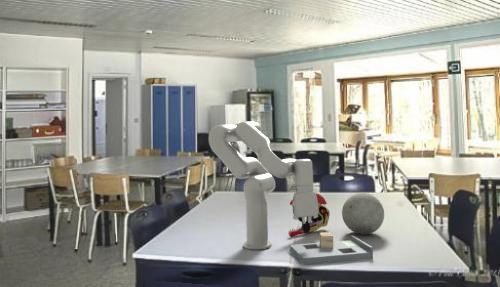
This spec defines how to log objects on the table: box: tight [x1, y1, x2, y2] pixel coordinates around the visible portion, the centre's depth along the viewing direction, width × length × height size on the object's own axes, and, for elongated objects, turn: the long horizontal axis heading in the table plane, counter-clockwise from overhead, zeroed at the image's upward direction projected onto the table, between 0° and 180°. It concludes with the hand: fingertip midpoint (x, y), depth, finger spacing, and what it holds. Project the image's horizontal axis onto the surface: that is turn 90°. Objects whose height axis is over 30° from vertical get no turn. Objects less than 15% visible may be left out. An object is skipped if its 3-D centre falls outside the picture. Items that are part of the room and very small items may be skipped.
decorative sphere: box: [341, 192, 385, 235], centre depth 202 cm, size 20×20×20 cm
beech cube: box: [319, 232, 334, 248], centre depth 176 cm, size 5×5×5 cm
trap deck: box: [289, 235, 374, 265], centre depth 172 cm, size 18×29×4 cm, turn 101°
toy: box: [288, 192, 331, 238], centre depth 206 cm, size 7×27×20 cm, turn 126°
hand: (306, 232), depth 174 cm, fingers closed
